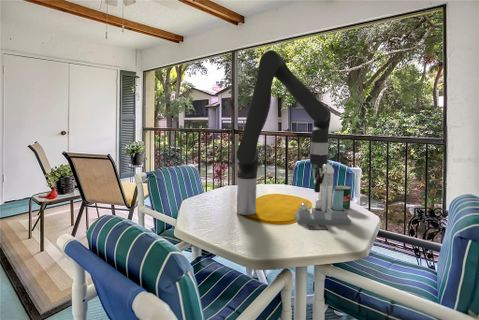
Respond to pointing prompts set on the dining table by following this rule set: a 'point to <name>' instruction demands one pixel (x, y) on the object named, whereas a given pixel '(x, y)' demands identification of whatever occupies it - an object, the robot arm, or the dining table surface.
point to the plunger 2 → (318, 205)
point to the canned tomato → (345, 196)
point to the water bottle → (326, 187)
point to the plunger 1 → (303, 206)
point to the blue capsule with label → (337, 199)
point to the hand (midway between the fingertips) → (317, 192)
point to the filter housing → (322, 217)
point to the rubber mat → (316, 227)
